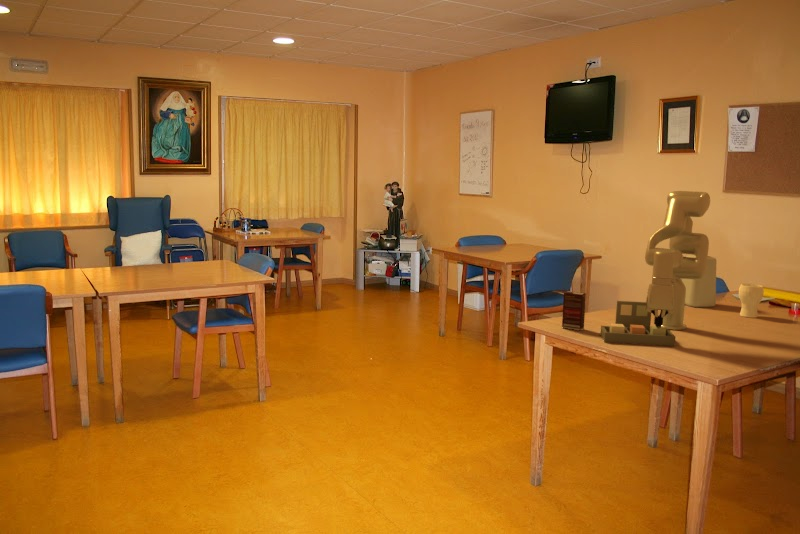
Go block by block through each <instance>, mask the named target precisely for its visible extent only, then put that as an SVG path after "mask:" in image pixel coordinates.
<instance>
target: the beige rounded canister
mask: <svg viewBox="0 0 800 534" xmlns="http://www.w3.org/2000/svg"><path fill="white" fill-rule="evenodd" d="M685 257H692V258H696V256H695V255H691V254H687V255H685ZM681 280H682V282H683V283H684V285H685V287H686V297H685V305H686V306H688V307H691V308H712V307H715V306H716V304H717V297H716V296H717V258H716V257H713V256H709V255H708V257H707V265H706V272H705V276H704V278H703V279H701V280H692V279H681Z"/></svg>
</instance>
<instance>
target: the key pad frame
mask: <svg viewBox="0 0 800 534" xmlns="http://www.w3.org/2000/svg"><path fill="white" fill-rule="evenodd" d="M600 334H601V335H600V337H601V336H602V337H601V339H602V338H603V339H602V341H603V340H604V341H603V342H604V343H607V342H611V343H610V344H623V343H624V344H625V345H626V344H627V345H640V344H643V345H645V346H658V347H674V346H676V336H675V335H674V333H673V332H671V329H666V335H651V334H650V328H645V334H630V327H625V329H624V333H612V332H610V325H601V326H600ZM643 345H642V346H643Z"/></svg>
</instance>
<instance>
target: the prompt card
mask: <svg viewBox="0 0 800 534" xmlns="http://www.w3.org/2000/svg"><path fill="white" fill-rule="evenodd" d="M615 307H616V309H615V310H616V311H615V320H614V321H615V322H614V324H623V325H624V327H630V325H643V326H644V327H645V328H650V326H651V324H652V323H651V320H652V313H651V312H647V311H646V310H645V309H646V301H631V300H616V306H615Z"/></svg>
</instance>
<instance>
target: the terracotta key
mask: <svg viewBox="0 0 800 534" xmlns="http://www.w3.org/2000/svg"><path fill="white" fill-rule="evenodd" d="M630 334H645V327H644V326H643V325H630Z"/></svg>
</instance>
